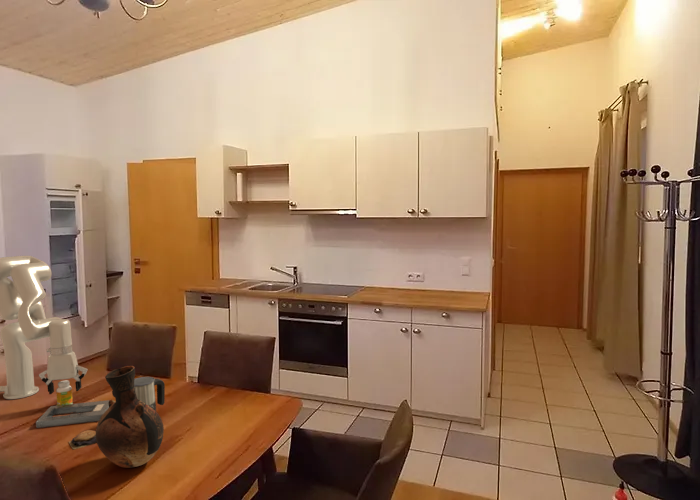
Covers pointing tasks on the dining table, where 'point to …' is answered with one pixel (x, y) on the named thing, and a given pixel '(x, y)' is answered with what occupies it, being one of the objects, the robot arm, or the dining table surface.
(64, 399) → the supplement bottle
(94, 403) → the grey rectangular frame
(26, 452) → the dining table surface
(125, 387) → the ceramic vessel
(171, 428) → the dining table surface
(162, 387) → the milk frother
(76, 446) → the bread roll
